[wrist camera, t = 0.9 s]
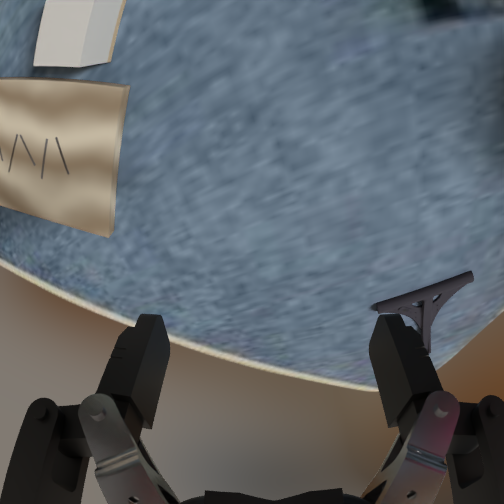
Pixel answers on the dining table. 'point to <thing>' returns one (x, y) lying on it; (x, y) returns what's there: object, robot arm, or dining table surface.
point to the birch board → (61, 149)
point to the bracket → (425, 303)
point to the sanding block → (78, 32)
